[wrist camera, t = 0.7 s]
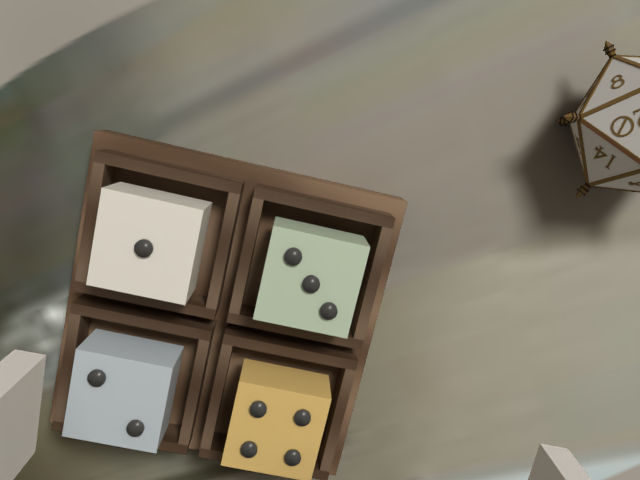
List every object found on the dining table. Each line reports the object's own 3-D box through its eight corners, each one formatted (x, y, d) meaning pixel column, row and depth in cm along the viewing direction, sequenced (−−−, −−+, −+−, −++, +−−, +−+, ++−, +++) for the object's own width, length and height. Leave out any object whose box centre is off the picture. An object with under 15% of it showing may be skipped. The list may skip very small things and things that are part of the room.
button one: (195, 288, 32) (184, 306, 28) (105, 269, 31) (84, 285, 28) (212, 202, 31) (203, 210, 28) (120, 181, 30) (100, 188, 27)
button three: (342, 319, 32) (347, 340, 29) (256, 301, 32) (252, 320, 29) (363, 235, 31) (371, 247, 28) (275, 216, 31) (273, 226, 28)
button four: (309, 451, 34) (310, 484, 31) (227, 435, 33) (220, 467, 30) (328, 375, 33) (331, 401, 30) (244, 358, 33) (238, 383, 29)
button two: (168, 424, 33) (155, 455, 30) (82, 408, 33) (60, 438, 30) (184, 346, 32) (172, 369, 29) (96, 328, 32) (74, 350, 29)
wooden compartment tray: (333, 457, 38) (337, 495, 34) (62, 406, 36) (34, 440, 32) (401, 197, 35) (414, 206, 31) (106, 129, 33) (80, 130, 29)
